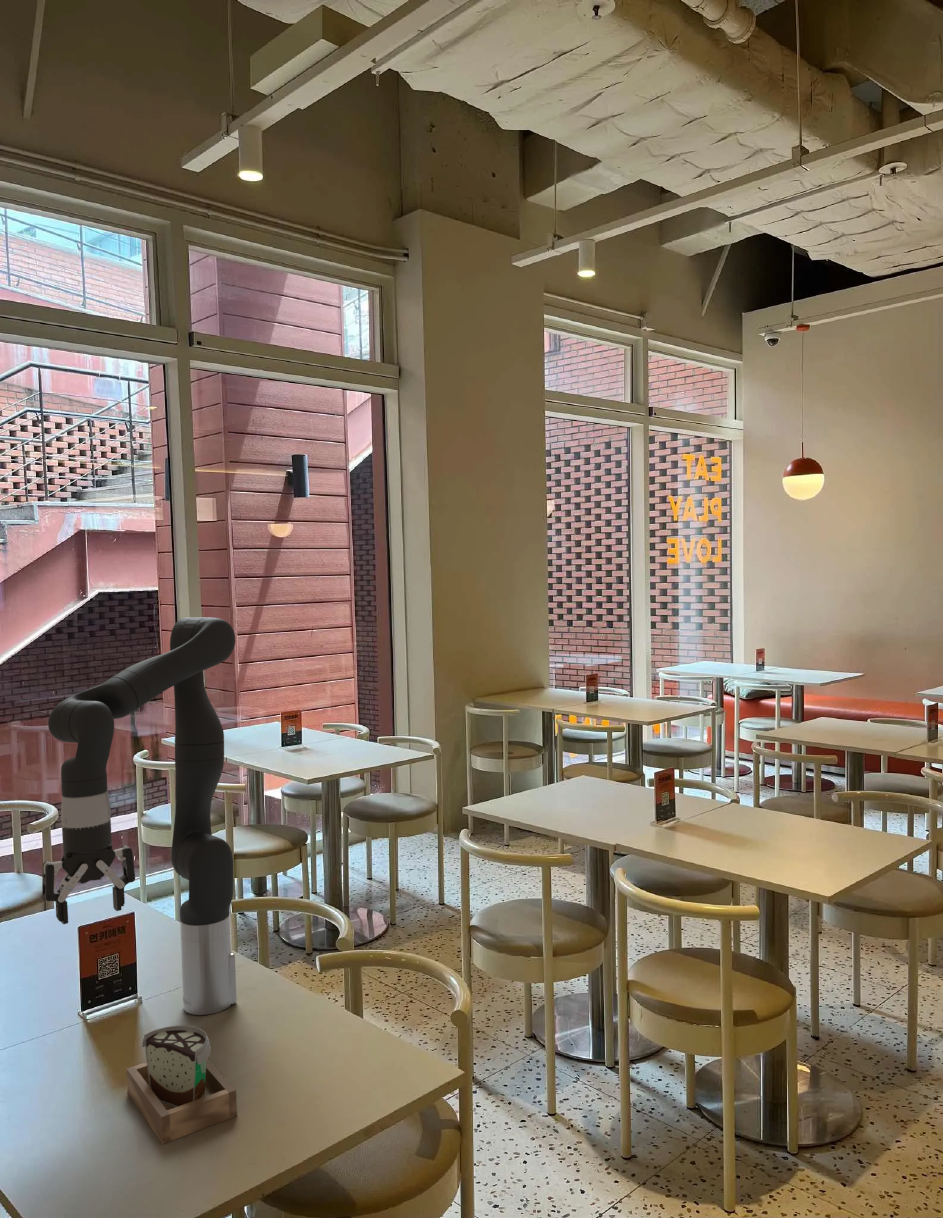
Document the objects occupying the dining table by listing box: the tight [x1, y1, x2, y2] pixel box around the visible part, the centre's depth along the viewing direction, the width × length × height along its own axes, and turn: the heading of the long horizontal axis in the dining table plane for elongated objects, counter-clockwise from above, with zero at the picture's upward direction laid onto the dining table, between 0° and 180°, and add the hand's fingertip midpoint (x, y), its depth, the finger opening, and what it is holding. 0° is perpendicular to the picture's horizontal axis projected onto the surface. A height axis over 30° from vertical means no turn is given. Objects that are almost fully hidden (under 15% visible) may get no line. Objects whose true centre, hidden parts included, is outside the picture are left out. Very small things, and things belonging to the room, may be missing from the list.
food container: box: [141, 1024, 212, 1108], centre depth 146 cm, size 12×6×10 cm, turn 61°
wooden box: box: [126, 1057, 238, 1145], centre depth 145 cm, size 11×17×4 cm, turn 36°
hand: (91, 916), depth 154 cm, fingers open, 8 cm apart
